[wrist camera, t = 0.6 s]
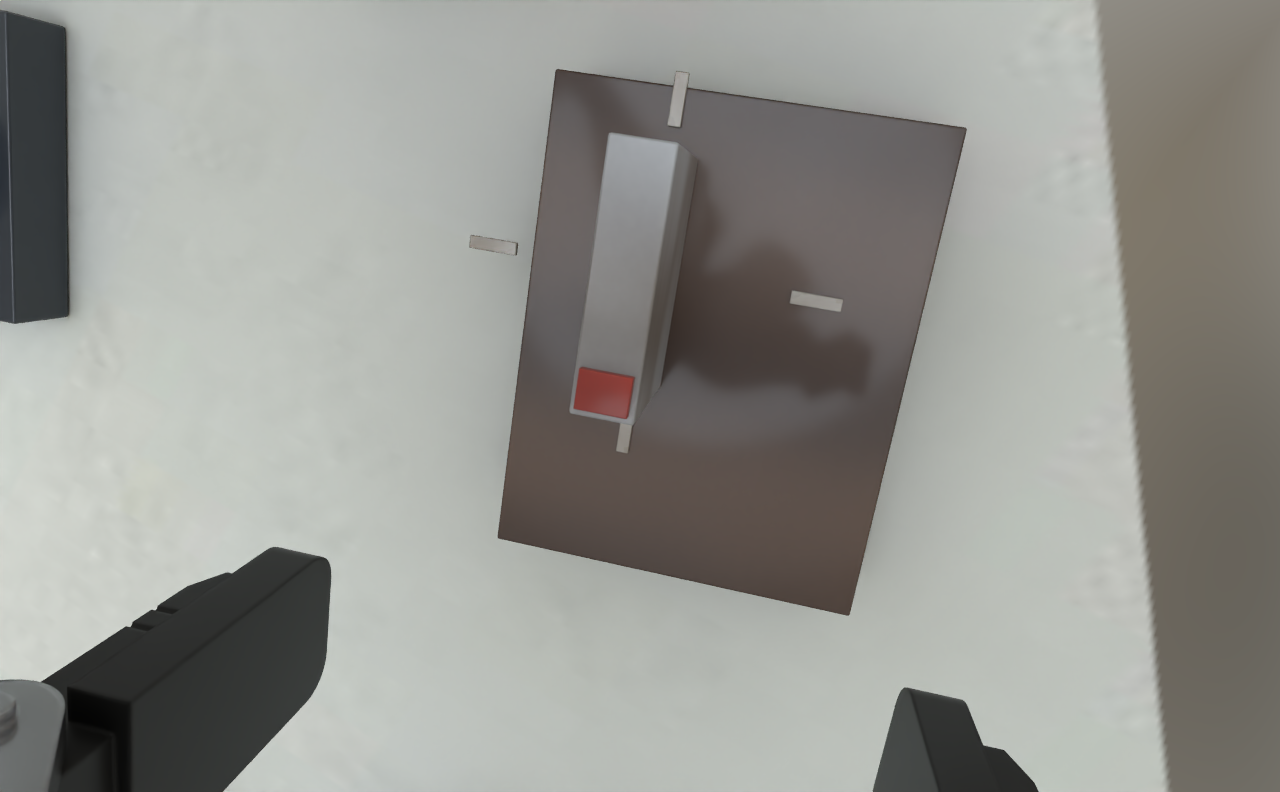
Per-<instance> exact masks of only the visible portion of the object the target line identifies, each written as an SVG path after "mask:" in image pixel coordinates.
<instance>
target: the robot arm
mask: <svg viewBox="0 0 1280 792" xmlns="http://www.w3.org/2000/svg"><path fill="white" fill-rule="evenodd" d="M330 588H331V567H330V564H329V562H328V560H327V559H326V558H324V557H320V556H315V555H311V554H306V553H302V552H297V551H293V550H288V549H283V548H279V547H272V548H269V549H268V550H266V551H264V552H263V553H262V554H260V555H259V556H257V557H256V558H254V559H253V560H251V561H250V562H248V563H247V564H245V565H244V566H243V567H241V568H240V569H238V570H237V571H235V572H234V573H232V574H231V573H224V574H221V575H218V576H215V577H213V578H210V579H207V580H204V581H201V582H198V583H195V584H192V585H190V586H187V587H186V588H184V589H183V590H181V591H179V592H178V593H176V594H175V595H173V596H172V597H170V598H169V599H167V600H166V601H164V602H163V603H161V604H160V605H158V607H157V609H156V611H155V610H150V611H149V612H147V613H146V614H144V615H143V616H141V617H140V618H138V619H137V620H135V621H134V622H133V623H132V626H131V627H127V626H126V627H124V628H123V629H121V630H120V631H118V632H117V633H115V634H114V635H112V636H111V637H109V638H108V639H106V640H104V641H103V642H101V643H100V644H98V645H97V646H95V647H94V648H92V649H91V650H89V651H88V652H86V653H85V654H83V655H81V656H80V657H78V658H77V659H75V660H74V661H72V662H71V663H69V664H68V665H66V666H65V667H63V668H62V669H60V670H59V671H57V672H55V673H54V674H52V675H51V676H49V677H48V678H46V679H45V680H43V681H42V682H37V681H31V680H0V792H223V791H224V790H225V789H226V788H227V787H228V785H229V784H230V783H231V782H232V781H233V780H234V779H235V778H236V777H237V776H238V775H239V774H240V773H241V772H242V770H243V769H244V768H245V767H246V766H247V765H248V764H249V763H250V762H251V761H252V760H253V759H254V758H255V757H256V755H257V754H258V753H259V752H260V751H261V750H262V749H263V748H264V747H265V746H266V745H267V744H268V743H269V742H270V740H271V739H272V738H273V737H274V736H275V735H276V734H277V733H278V732H279V731H280V730H281V729H282V728H283V727H284V726H285V724H286V723H287V722H288V721H289V720H290V719H291V718H292V717H293V716H294V715H295V714H296V713H297V712H298V711H299V709H300V708H301V707H302V706H303V705H304V704H305V703H306V702H307V701H308V699H309V698H310V697H311V695H312V694H313V692H314V690H315V689H316V687H317V685H318V683H319V680H320V678H321V675H322V672H323V669H324V665H325V660H326V653H327V637H328V621H329V604H330ZM873 792H1038V790H1037V787H1036V785H1035V783H1034V782H1033V781H1032V780H1031V779H1030V778H1029V776H1028V775H1027V774H1026V773H1025V772H1024V771H1023V770H1022V769H1021V768H1020V767H1019V766H1018V765H1017V764H1016V763H1015V761H1014V760H1013V759H1012V758H1011V757H1010V756H1009V755H1008V754H1007V753H1006V752H1005V751H1004V750H1001V749H997V748H992V747H988V746H983V744H982V742H981V739H980V736H979V734H978V731H977V729H976V726H975V724H974V721H973V719H972V716H971V714H970V711H969V709H968V706H967V704H966V703H965V702H964V701H963V700H960V699H956V698H951V697H947V696H942V695H938V694H933V693H929V692H924V691H920V690H915V689H911V688H903V689H902V690H901V692H900V694H899V696H898V699H897V702H896V705H895V709H894V712H893V716H892V720H891V724H890V727H889V731H888V735H887V739H886V742H885V746H884V750H883V754H882V757H881V761H880V765H879V769H878V772H877V776H876V780H875V784H874V788H873Z"/></svg>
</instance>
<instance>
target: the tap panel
mask: <svg viewBox="0 0 1280 792" xmlns="http://www.w3.org/2000/svg"><path fill="white" fill-rule="evenodd" d="M688 81H689V73H687V72H680V71H676V73H675V80H674V86H671V85H664V84H657V83H650V82H644V81H637V80H630V79H623V78H616V77H609V76H602V75H595V74H588V73H581V72H574V71H567V70H560V69H557V70H556V72H555V80H554V88H553V96H552V104H551V112H550V120H549V128H548V136H547V145H546V153H545V161H544V169H543V177H542V185H541V193H540V201H539V209H538V217H537V225H536V233H535V241H534V249H533V257H532V265H531V273H530V281H529V289H528V297H527V305H526V313H525V321H524V329H523V337H522V345H521V353H520V362H519V370H518V378H517V386H516V394H515V402H514V410H513V418H512V426H511V434H510V442H509V450H508V458H507V466H506V474H505V482H504V490H503V498H502V506H501V514H500V522H499V530H498V538H499V539H504V540H508V541H513V542H517V543H522V544H526V545H531V546H536V547H540V548H545V549H549V550H554V551H558V552H563V553H567V554H572V555H576V556H581V557H585V558H590V559H594V560H599V561H603V562H608V563H612V564H617V565H621V566H626V567H630V568H635V569H640V570H644V571H649V572H653V573H658V574H662V575H667V576H671V577H676V578H680V579H685V580H689V581H694V582H698V583H703V584H707V585H712V586H716V587H721V588H725V589H730V590H734V591H739V592H744V593H748V594H753V595H757V596H762V597H766V598H771V599H775V600H780V601H784V602H789V603H793V604H798V605H802V606H807V607H811V608H816V609H820V610H825V611H829V612H834V613H838V614H843V615H849V614H850V611H851V607H852V603H853V598H854V594H855V590H856V586H857V582H858V578H859V574H860V569H861V565H862V561H863V557H864V553H865V549H866V545H867V540H868V536H869V532H870V528H871V524H872V520H873V516H874V511H875V507H876V503H877V499H878V495H879V491H880V487H881V483H882V478H883V474H884V470H885V466H886V462H887V458H888V454H889V449H890V445H891V441H892V437H893V433H894V429H895V425H896V420H897V416H898V412H899V408H900V404H901V400H902V396H903V391H904V387H905V383H906V379H907V375H908V371H909V367H910V363H911V358H912V354H913V350H914V346H915V342H916V338H917V334H918V329H919V325H920V321H921V317H922V313H923V309H924V305H925V300H926V296H927V292H928V288H929V284H930V280H931V276H932V272H933V267H934V263H935V259H936V255H937V251H938V247H939V243H940V238H941V234H942V230H943V226H944V222H945V218H946V214H947V209H948V205H949V201H950V197H951V193H952V189H953V185H954V180H955V176H956V172H957V168H958V164H959V160H960V156H961V152H962V147H963V143H964V139H965V135H966V131H967V129H966V128H964V127H957V126H950V125H943V124H936V123H929V122H922V121H915V120H908V119H901V118H894V117H887V116H881V115H874V114H867V113H860V112H853V111H846V110H839V109H832V108H825V107H818V106H811V105H804V104H797V103H790V102H783V101H776V100H769V99H762V98H755V97H748V96H741V95H734V94H727V93H720V92H713V91H706V90H699V89H692V88H687V87H688ZM611 132H612V133H619V134H625V135H632V136H638V137H645V138H651V139H658V140H665V141H671V142H677V143H679V144H680V145H681V146H682V147H684V148H685V149H686V150H687V151H689V152H690V153H691V154H693V155H694V156H695V157H696V158H698V164H697V170H696V176H695V182H694V188H693V194H692V200H691V206H690V212H689V218H688V224H687V230H686V236H685V242H684V248H683V254H682V260H681V266H680V271H679V277H678V283H677V289H676V295H675V301H674V307H673V313H672V319H671V325H670V331H669V337H668V343H667V349H666V355H665V361H664V367H663V373H662V379H661V385H660V388H659V389H658V391H657V392H656V394H655V395H654V396H653V398H652V399H651V401H650V402H649V403H648V405H647V406H646V408H645V409H644V410H643V412H642V413H641V415H640V416H639V418H638V419H637V420H636V422H635V423H634V425H627V424H622V423H617V422H611V421H606V420H601V419H596V418H591V417H586V416H581V415H576V414H571V413H570V411H569V409H570V402H571V395H572V388H573V381H574V374H575V367H576V360H577V353H578V345H579V338H580V331H581V324H582V317H583V310H584V303H585V296H586V289H587V282H588V275H589V268H590V261H591V254H592V247H593V239H594V232H595V225H596V218H597V211H598V204H599V197H600V190H601V183H602V176H603V169H604V162H605V155H606V148H607V140H608V135H609V133H611ZM469 247H470V248H475V249H481V250H486V251H492V252H498V253H504V254H509V255H517V249H518V243H516V242H510V241H504V240H499V239H493V238H487V237H481V236H475V235H471V236H470V246H469Z"/></svg>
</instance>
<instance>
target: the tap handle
mask: <svg viewBox="0 0 1280 792" xmlns="http://www.w3.org/2000/svg"><path fill="white" fill-rule="evenodd" d="M697 164H698V158H696V157H695V156H694V155H693V154H691V153H690V152H689V151H687V150H686V149H685V148H684V147H682V146H681V145H680V144H679V143H677V142H671V141H665V140H658V139H651V138H645V137H638V136H632V135H625V134H619V133H612V132H611V133H609V135H608V140H607V148H606V155H605V162H604V169H603V176H602V183H601V190H600V197H599V204H598V211H597V218H596V225H595V232H594V239H593V247H592V254H591V261H590V268H589V275H588V282H587V289H586V296H585V303H584V310H583V317H582V324H581V331H580V338H579V345H578V353H577V360H576V367H575V374H574V381H573V388H572V395H571V402H570V409H569V411H570V413H571V414H576V415H581V416H586V417H591V418H596V419H601V420H606V421H611V422H617V423H622V424H627V425H634V423H635V422H636V420H637V419H638V418H639V416H640V415H641V413H642V412H643V410H644V409H645V408H646V406H647V405H648V403H649V402H650V401H651V399H652V398H653V396H654V395H655V394H656V392H657V391H658V389H659V388H660V385H661V379H662V373H663V367H664V361H665V355H666V349H667V343H668V337H669V331H670V325H671V319H672V313H673V307H674V301H675V295H676V289H677V283H678V277H679V271H680V266H681V260H682V254H683V248H684V242H685V236H686V230H687V224H688V218H689V212H690V206H691V200H692V194H693V188H694V182H695V176H696V170H697Z"/></svg>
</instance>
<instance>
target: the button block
mask: <svg viewBox="0 0 1280 792" xmlns="http://www.w3.org/2000/svg"><path fill="white" fill-rule="evenodd" d="M67 316H68V264H67V170H66V77H65V28H64V27H62V26H59V25H56V24H52V23H48V22H45V21H41V20H37V19H34V18H30V17H26V16H23V15H19V14H15V13H12V12H8V11H3V10H0V321H3V322H8V323H13V324H18V323H25V322H32V321H40V320H47V319H55V318H62V317H67Z"/></svg>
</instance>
